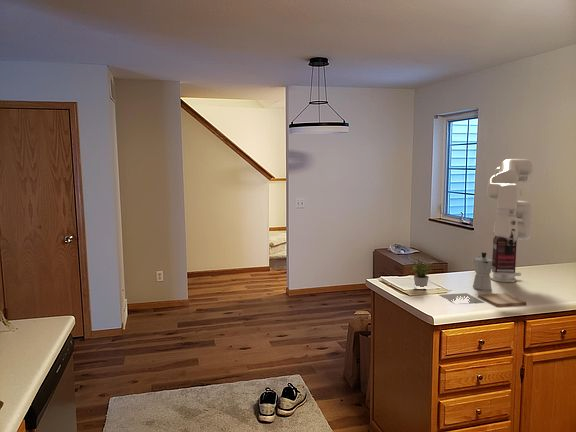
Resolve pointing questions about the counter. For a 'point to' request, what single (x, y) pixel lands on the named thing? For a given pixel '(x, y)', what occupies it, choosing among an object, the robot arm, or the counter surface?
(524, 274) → the counter surface
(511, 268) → the supplement box
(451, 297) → the plate
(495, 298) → the walnut board
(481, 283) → the coffee maker
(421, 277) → the house plant
